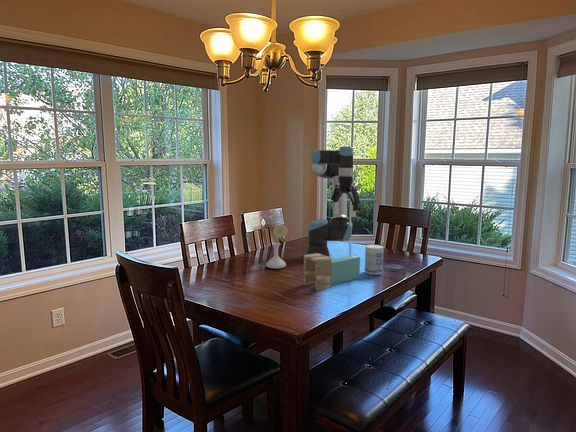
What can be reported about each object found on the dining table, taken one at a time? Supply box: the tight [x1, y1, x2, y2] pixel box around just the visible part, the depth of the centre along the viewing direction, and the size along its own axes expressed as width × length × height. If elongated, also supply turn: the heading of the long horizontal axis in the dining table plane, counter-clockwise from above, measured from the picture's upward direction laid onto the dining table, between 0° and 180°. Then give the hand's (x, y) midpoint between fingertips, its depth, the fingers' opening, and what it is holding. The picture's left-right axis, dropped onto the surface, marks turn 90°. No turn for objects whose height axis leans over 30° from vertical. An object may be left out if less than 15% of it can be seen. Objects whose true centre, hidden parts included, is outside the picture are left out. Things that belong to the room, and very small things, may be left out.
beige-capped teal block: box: [331, 255, 361, 285], centre depth 210 cm, size 5×19×11 cm, turn 125°
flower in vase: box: [265, 223, 289, 269], centre depth 233 cm, size 13×11×25 cm
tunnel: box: [303, 253, 332, 291], centre depth 201 cm, size 11×8×15 cm
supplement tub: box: [364, 244, 384, 276], centre depth 224 cm, size 10×10×15 cm
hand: (344, 215), depth 225 cm, fingers open, 13 cm apart
